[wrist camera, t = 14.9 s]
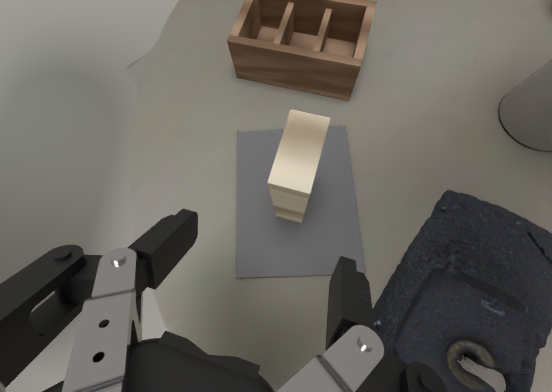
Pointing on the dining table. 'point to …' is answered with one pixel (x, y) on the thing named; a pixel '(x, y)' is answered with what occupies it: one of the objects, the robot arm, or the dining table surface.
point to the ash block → (296, 164)
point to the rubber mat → (316, 221)
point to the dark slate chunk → (471, 295)
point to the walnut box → (302, 43)
